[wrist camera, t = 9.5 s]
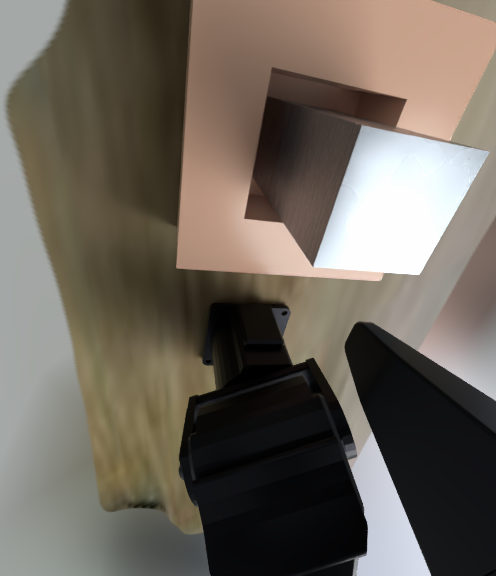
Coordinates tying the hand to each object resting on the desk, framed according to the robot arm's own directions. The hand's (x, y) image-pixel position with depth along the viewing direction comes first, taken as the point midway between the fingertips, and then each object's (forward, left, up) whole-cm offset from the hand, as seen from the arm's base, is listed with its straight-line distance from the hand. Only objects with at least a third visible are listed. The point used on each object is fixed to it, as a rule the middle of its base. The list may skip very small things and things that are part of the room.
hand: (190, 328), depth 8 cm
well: (+3, -6, -13) cm, 14 cm away
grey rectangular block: (+3, -6, -12) cm, 14 cm away
